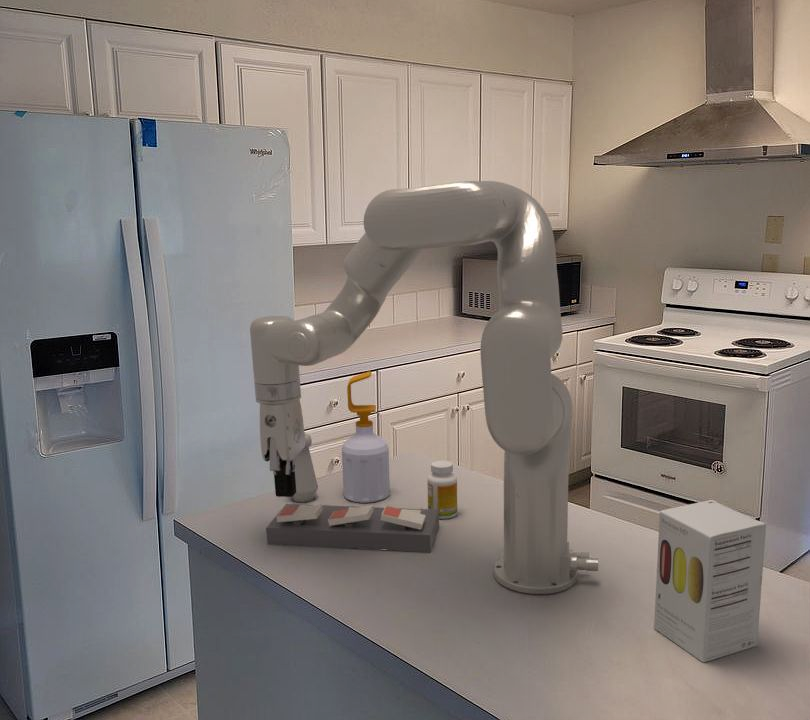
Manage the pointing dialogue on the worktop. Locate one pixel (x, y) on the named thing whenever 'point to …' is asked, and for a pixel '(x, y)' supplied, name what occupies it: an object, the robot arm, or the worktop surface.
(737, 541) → the supplement box
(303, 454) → the salt shaker
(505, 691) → the worktop surface
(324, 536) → the rocker switch panel
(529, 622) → the worktop surface
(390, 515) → the rocker near
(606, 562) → the worktop surface
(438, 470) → the supplement bottle
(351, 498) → the soap bottle
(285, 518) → the rocker far
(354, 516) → the rocker middle
